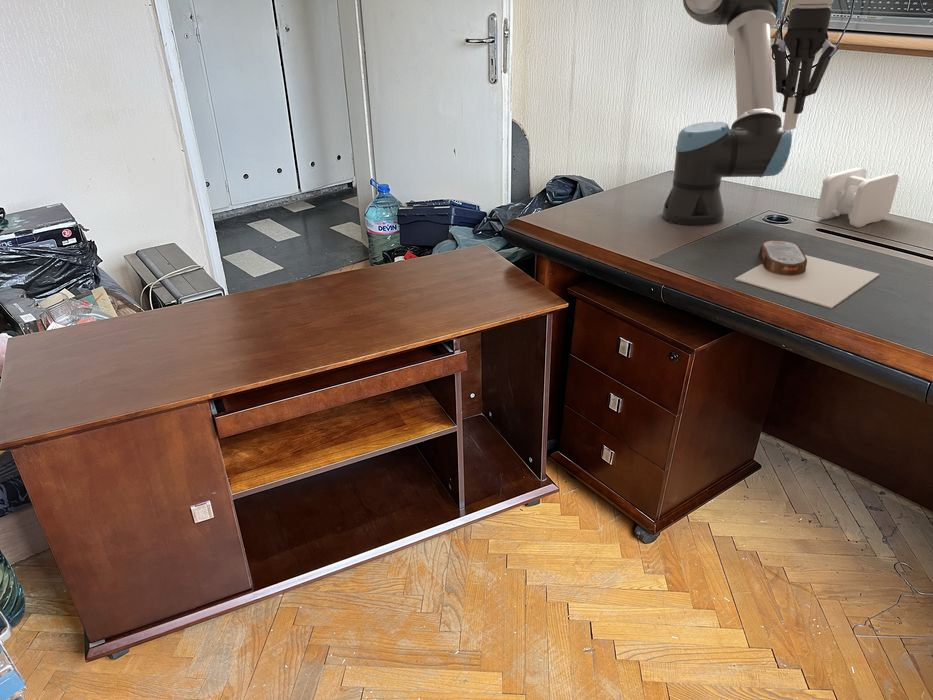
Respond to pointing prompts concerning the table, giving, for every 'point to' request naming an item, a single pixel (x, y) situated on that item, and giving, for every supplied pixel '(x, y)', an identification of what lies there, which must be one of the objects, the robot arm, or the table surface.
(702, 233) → the table surface
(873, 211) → the cable organizer
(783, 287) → the mat
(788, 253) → the tin
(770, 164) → the robot arm
